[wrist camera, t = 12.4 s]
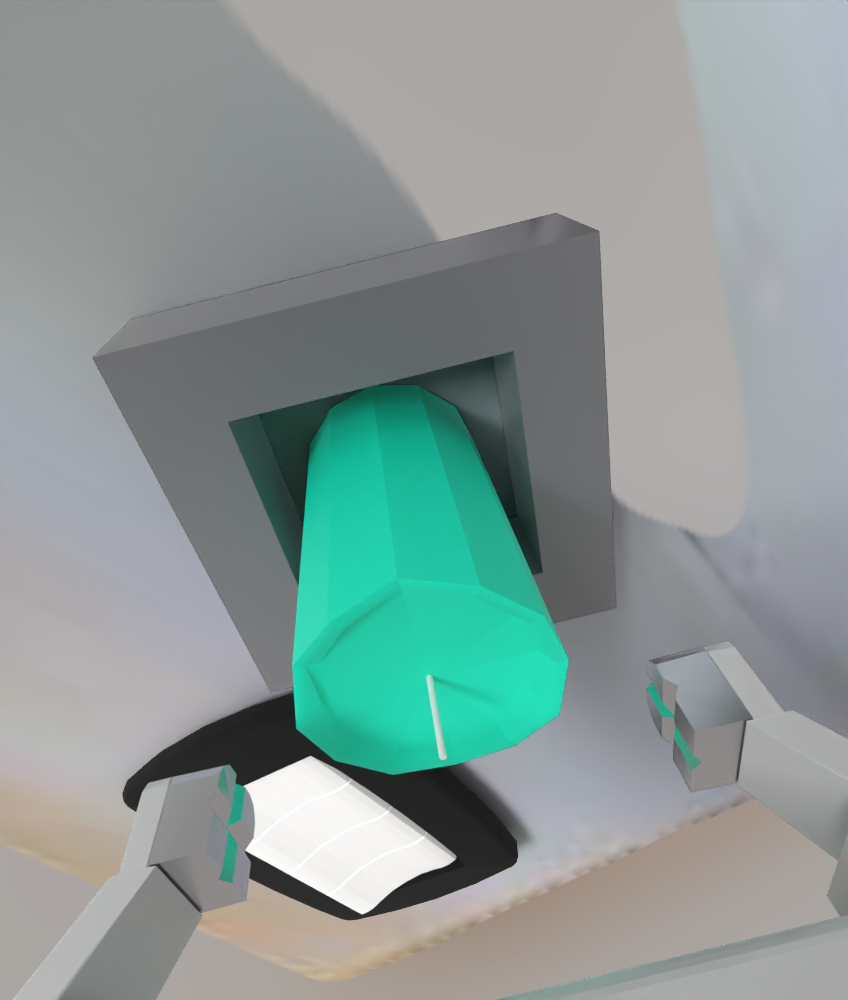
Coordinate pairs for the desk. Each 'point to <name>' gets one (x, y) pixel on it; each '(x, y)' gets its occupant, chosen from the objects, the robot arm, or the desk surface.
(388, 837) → the light switch
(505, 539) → the candle
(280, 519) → the socket block
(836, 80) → the desk surface
